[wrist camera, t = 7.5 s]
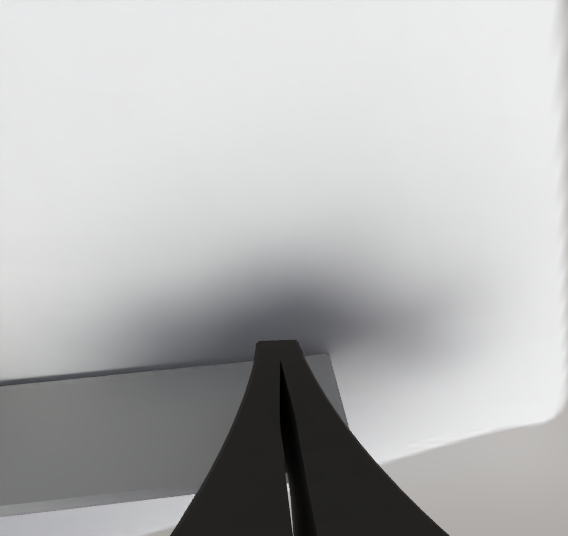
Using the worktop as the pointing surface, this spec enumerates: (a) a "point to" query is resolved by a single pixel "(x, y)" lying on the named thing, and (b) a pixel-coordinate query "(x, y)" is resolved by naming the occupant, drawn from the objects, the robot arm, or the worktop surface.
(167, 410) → the side door
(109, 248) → the worktop surface
